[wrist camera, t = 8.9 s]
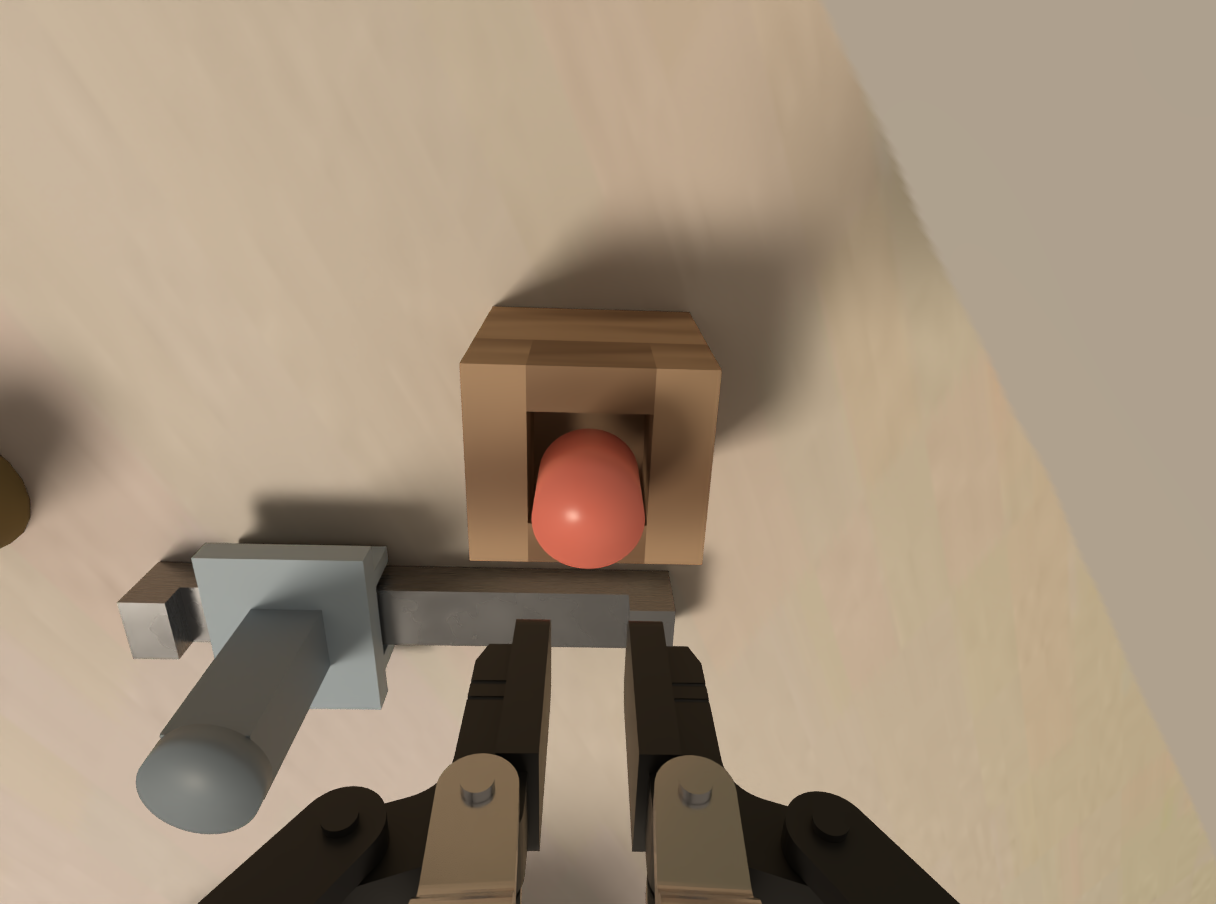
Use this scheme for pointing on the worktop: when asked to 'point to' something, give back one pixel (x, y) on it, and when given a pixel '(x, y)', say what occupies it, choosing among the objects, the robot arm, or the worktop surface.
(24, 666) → the worktop surface
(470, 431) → the cabinet
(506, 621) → the rail
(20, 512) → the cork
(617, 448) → the button
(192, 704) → the carriage
